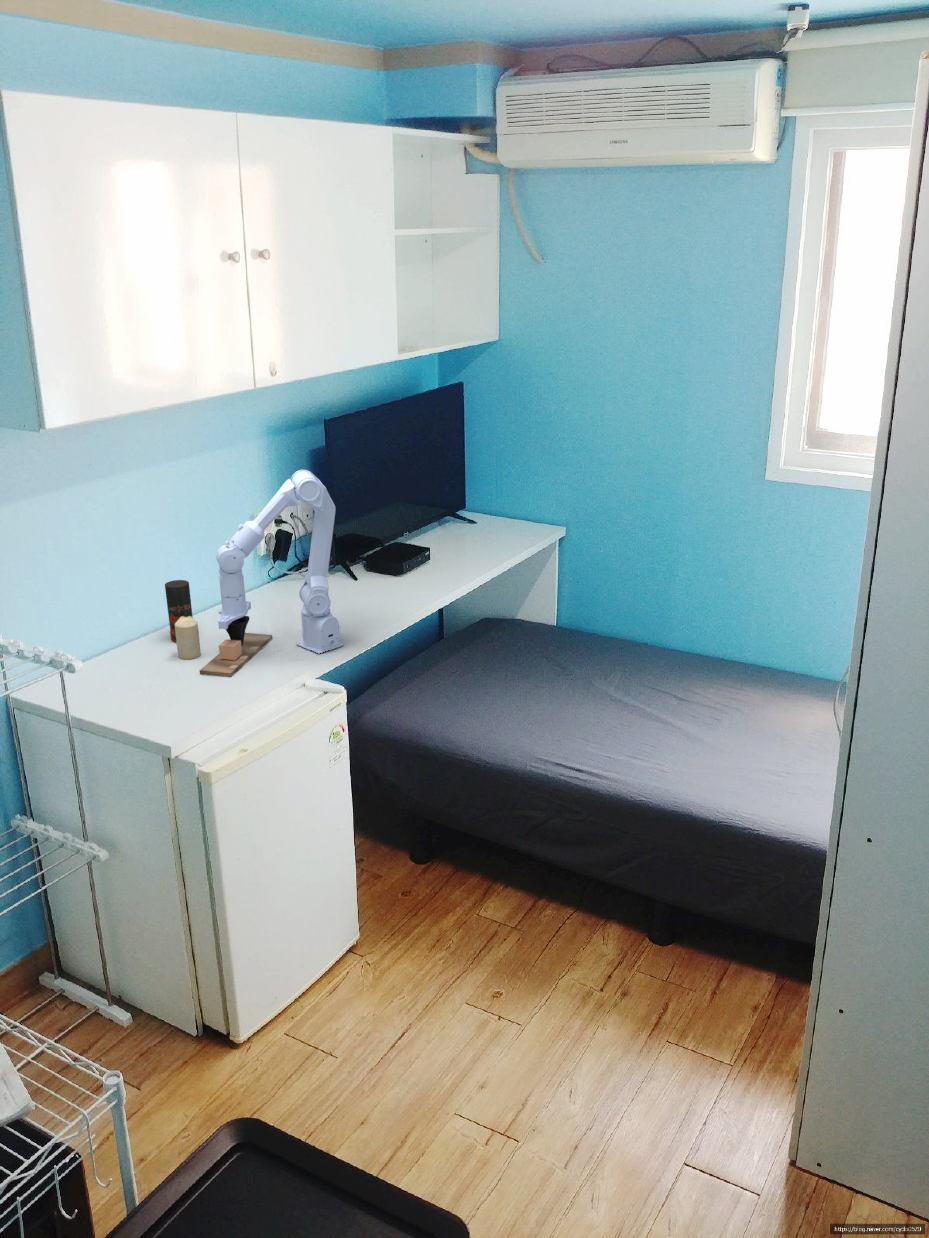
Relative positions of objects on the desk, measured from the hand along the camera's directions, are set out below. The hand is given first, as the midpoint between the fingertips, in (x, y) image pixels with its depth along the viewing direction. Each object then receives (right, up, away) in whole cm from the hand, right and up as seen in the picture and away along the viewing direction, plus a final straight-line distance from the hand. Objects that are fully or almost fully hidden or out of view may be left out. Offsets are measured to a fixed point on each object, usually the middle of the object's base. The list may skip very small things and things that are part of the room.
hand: (238, 645), depth 265 cm
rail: (0, -2, 0) cm, 2 cm away
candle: (-12, -3, +1) cm, 12 cm away
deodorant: (-17, +1, +12) cm, 20 cm away
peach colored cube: (-1, -2, -3) cm, 4 cm away
